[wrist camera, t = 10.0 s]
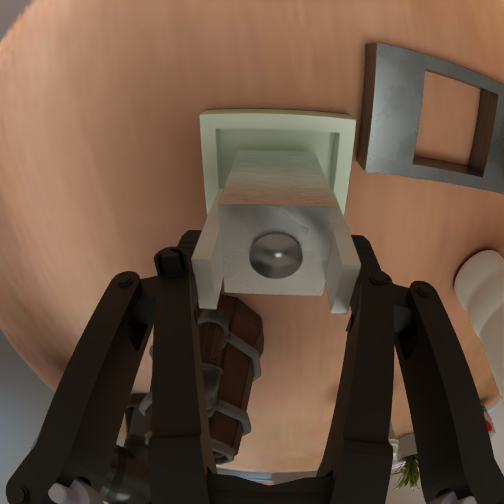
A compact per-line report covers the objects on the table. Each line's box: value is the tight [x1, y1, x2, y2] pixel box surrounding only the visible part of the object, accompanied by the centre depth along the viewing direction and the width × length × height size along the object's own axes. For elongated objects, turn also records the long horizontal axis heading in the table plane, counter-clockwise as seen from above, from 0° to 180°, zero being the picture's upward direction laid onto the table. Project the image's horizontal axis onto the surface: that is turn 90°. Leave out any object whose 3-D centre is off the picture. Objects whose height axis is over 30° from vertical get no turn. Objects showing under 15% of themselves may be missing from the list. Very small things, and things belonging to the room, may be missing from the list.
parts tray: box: [199, 109, 356, 217], centre depth 21 cm, size 10×10×2 cm
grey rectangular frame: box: [357, 42, 504, 194], centre depth 17 cm, size 14×9×2 cm, turn 90°
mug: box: [139, 295, 264, 465], centre depth 26 cm, size 16×12×15 cm
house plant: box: [387, 433, 419, 493], centre depth 50 cm, size 14×14×16 cm
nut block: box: [218, 150, 338, 296], centre depth 17 cm, size 5×5×8 cm
